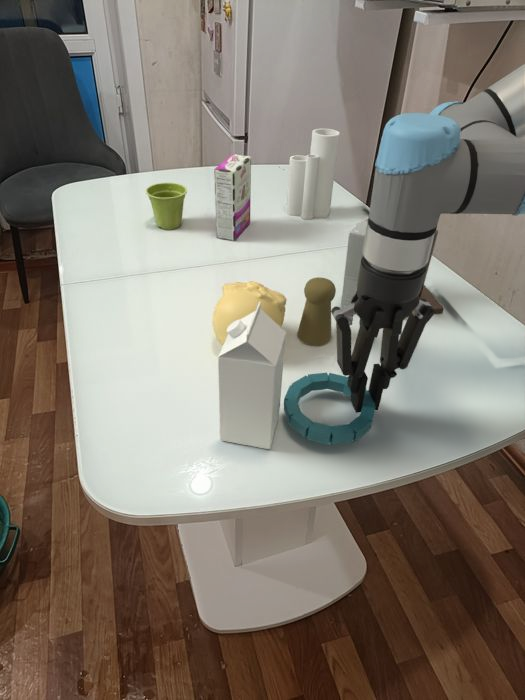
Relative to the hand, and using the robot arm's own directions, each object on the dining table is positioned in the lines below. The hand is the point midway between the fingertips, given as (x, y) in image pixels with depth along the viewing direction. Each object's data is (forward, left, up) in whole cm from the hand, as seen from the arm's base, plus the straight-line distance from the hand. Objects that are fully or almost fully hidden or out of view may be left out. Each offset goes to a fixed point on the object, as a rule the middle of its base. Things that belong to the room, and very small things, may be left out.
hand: (364, 404), depth 74 cm
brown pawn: (+2, -20, -2) cm, 20 cm away
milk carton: (+17, 0, -2) cm, 17 cm away
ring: (+5, 0, 0) cm, 5 cm away
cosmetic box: (-10, -29, -2) cm, 31 cm away
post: (-20, -28, -2) cm, 35 cm away
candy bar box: (+10, -64, -2) cm, 65 cm away
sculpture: (+14, -20, -2) cm, 24 cm away
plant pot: (+25, -69, -2) cm, 73 cm away
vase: (-11, -72, -2) cm, 73 cm away
